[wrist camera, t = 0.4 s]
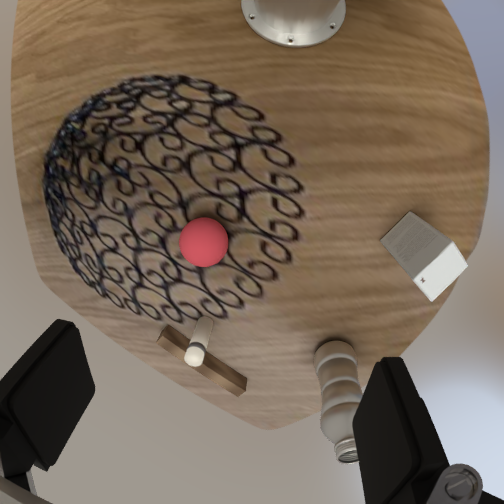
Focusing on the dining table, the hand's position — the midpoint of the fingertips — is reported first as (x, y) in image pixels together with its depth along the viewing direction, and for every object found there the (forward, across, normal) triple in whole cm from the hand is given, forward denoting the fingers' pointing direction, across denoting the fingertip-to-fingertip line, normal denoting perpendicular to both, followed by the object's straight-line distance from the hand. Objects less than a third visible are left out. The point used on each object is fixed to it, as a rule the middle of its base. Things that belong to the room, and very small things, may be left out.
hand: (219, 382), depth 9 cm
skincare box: (+33, -20, +4) cm, 38 cm away
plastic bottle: (+33, -13, +24) cm, 43 cm away
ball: (+30, +6, +6) cm, 31 cm away
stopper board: (+33, +7, +27) cm, 43 cm away
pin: (+33, +7, +20) cm, 39 cm away
